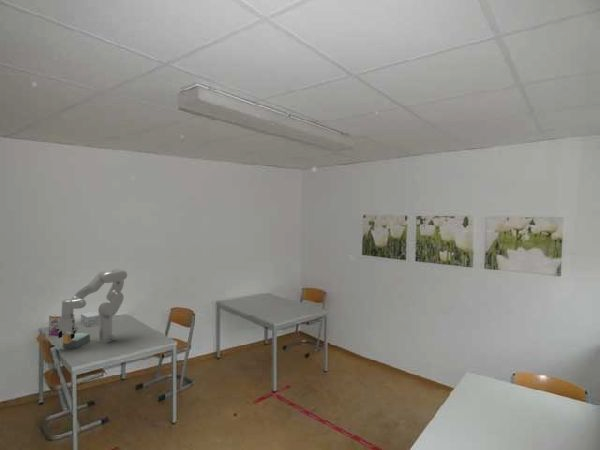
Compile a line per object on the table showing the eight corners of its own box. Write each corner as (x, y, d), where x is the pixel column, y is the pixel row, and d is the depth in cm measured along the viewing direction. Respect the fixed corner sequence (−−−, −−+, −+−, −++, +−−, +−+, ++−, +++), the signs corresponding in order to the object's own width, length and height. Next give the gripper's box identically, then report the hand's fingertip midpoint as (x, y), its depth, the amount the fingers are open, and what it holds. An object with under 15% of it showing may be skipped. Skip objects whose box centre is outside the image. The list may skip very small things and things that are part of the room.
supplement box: (102, 324, 336) (102, 314, 335) (87, 327, 326) (87, 317, 325) (95, 320, 347) (95, 310, 346) (80, 323, 337) (80, 313, 336)
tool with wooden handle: (77, 334, 291) (77, 326, 290) (89, 335, 290) (89, 327, 290) (58, 344, 270) (58, 335, 270) (71, 344, 270) (72, 336, 269)
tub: (76, 341, 291) (76, 333, 291) (89, 341, 291) (89, 334, 290) (62, 348, 275) (63, 340, 275) (76, 349, 275) (76, 341, 274)
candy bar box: (48, 334, 303) (48, 315, 302) (53, 332, 308) (53, 314, 307) (60, 335, 302) (60, 316, 301) (65, 333, 307) (65, 315, 306)
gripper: (81, 315, 274) (80, 337, 275) (59, 313, 275) (59, 335, 275) (74, 317, 267) (74, 340, 267) (52, 316, 268) (51, 339, 268)
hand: (66, 338), depth 271 cm, fingers open, 9 cm apart
